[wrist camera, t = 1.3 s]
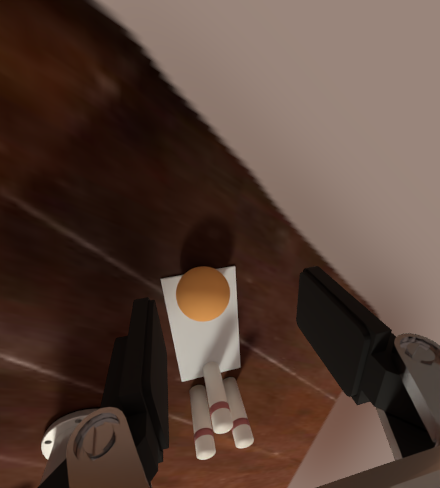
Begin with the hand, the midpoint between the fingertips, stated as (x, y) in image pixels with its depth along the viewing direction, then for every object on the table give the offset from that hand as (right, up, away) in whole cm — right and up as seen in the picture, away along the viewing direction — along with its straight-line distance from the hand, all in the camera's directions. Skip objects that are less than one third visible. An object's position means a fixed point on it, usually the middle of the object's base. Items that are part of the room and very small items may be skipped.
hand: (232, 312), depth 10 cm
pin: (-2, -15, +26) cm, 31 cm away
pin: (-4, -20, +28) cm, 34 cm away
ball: (-2, -3, +17) cm, 17 cm away
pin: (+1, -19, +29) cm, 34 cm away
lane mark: (-2, -9, +23) cm, 25 cm away
